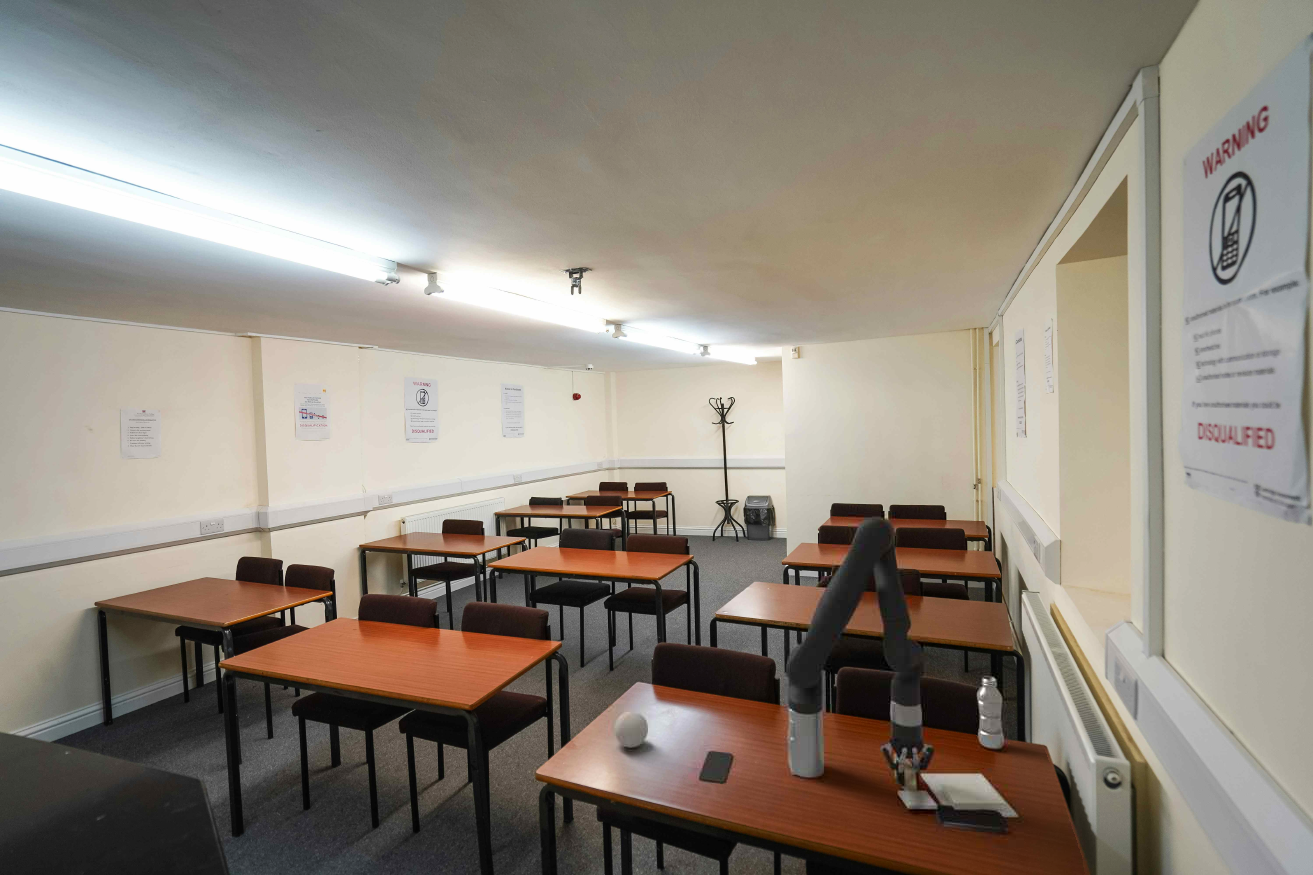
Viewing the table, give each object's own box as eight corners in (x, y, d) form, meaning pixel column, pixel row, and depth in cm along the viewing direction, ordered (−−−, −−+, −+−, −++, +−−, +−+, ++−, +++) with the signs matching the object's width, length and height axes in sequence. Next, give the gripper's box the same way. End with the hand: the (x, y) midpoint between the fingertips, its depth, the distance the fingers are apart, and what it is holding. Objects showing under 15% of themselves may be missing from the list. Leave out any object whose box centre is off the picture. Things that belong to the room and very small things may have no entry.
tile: (934, 782, 159) (954, 810, 147) (934, 775, 159) (954, 802, 147) (981, 782, 159) (1005, 810, 147) (980, 775, 159) (1005, 802, 147)
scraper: (908, 808, 147) (906, 783, 148) (886, 776, 163) (885, 753, 164) (937, 808, 147) (935, 783, 147) (912, 776, 163) (911, 753, 163)
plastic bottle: (1007, 753, 174) (1005, 683, 174) (982, 751, 175) (980, 682, 175) (999, 741, 180) (998, 674, 180) (975, 740, 181) (973, 673, 181)
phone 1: (697, 778, 164) (708, 750, 178) (698, 781, 164) (708, 752, 178) (725, 782, 162) (733, 753, 176) (725, 785, 162) (733, 756, 176)
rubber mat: (949, 816, 146) (949, 815, 146) (920, 774, 164) (920, 773, 164) (1018, 816, 145) (1018, 815, 145) (981, 774, 163) (981, 773, 163)
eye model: (625, 734, 190) (624, 703, 190) (654, 741, 186) (653, 708, 186) (609, 749, 181) (608, 716, 181) (639, 756, 177) (638, 722, 177)
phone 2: (1010, 831, 139) (939, 822, 142) (1010, 836, 139) (939, 827, 142) (999, 810, 146) (932, 802, 150) (999, 815, 146) (932, 807, 150)
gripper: (883, 725, 153) (885, 793, 153) (939, 724, 153) (941, 793, 153) (874, 711, 161) (875, 776, 161) (927, 711, 160) (929, 776, 160)
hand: (907, 784), depth 157 cm, fingers closed
